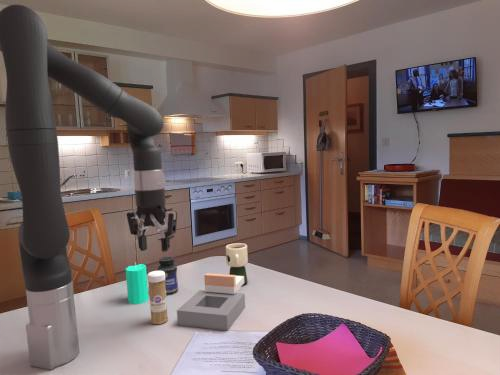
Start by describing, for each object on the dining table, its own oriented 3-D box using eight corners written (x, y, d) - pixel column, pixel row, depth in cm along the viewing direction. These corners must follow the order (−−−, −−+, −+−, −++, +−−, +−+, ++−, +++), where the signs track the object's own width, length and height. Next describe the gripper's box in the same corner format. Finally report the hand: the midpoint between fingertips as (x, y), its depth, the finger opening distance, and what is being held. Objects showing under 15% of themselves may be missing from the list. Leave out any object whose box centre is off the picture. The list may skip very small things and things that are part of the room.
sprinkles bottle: (153, 326, 99) (149, 277, 98) (149, 319, 103) (145, 272, 102) (170, 322, 101) (166, 273, 100) (165, 315, 105) (162, 268, 104)
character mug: (228, 278, 132) (226, 242, 131) (248, 277, 132) (246, 241, 131) (227, 290, 121) (225, 251, 120) (249, 289, 122) (247, 249, 120)
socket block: (227, 330, 95) (226, 315, 95) (177, 324, 99) (176, 310, 99) (245, 307, 108) (244, 293, 108) (200, 302, 113) (199, 290, 112)
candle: (151, 296, 120) (148, 259, 118) (144, 304, 114) (141, 265, 112) (133, 296, 120) (129, 259, 119) (125, 304, 114) (121, 265, 113)
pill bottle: (159, 296, 119) (156, 262, 118) (158, 289, 125) (156, 257, 123) (179, 293, 120) (176, 260, 119) (177, 287, 126) (175, 254, 125)
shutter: (234, 294, 107) (233, 276, 107) (205, 291, 110) (204, 275, 109) (244, 282, 116) (243, 266, 115) (217, 280, 119) (216, 265, 118)
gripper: (181, 185, 99) (185, 247, 101) (134, 185, 104) (139, 245, 106) (166, 189, 92) (171, 256, 94) (116, 189, 97) (122, 253, 99)
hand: (154, 250), depth 100 cm, fingers open, 6 cm apart
